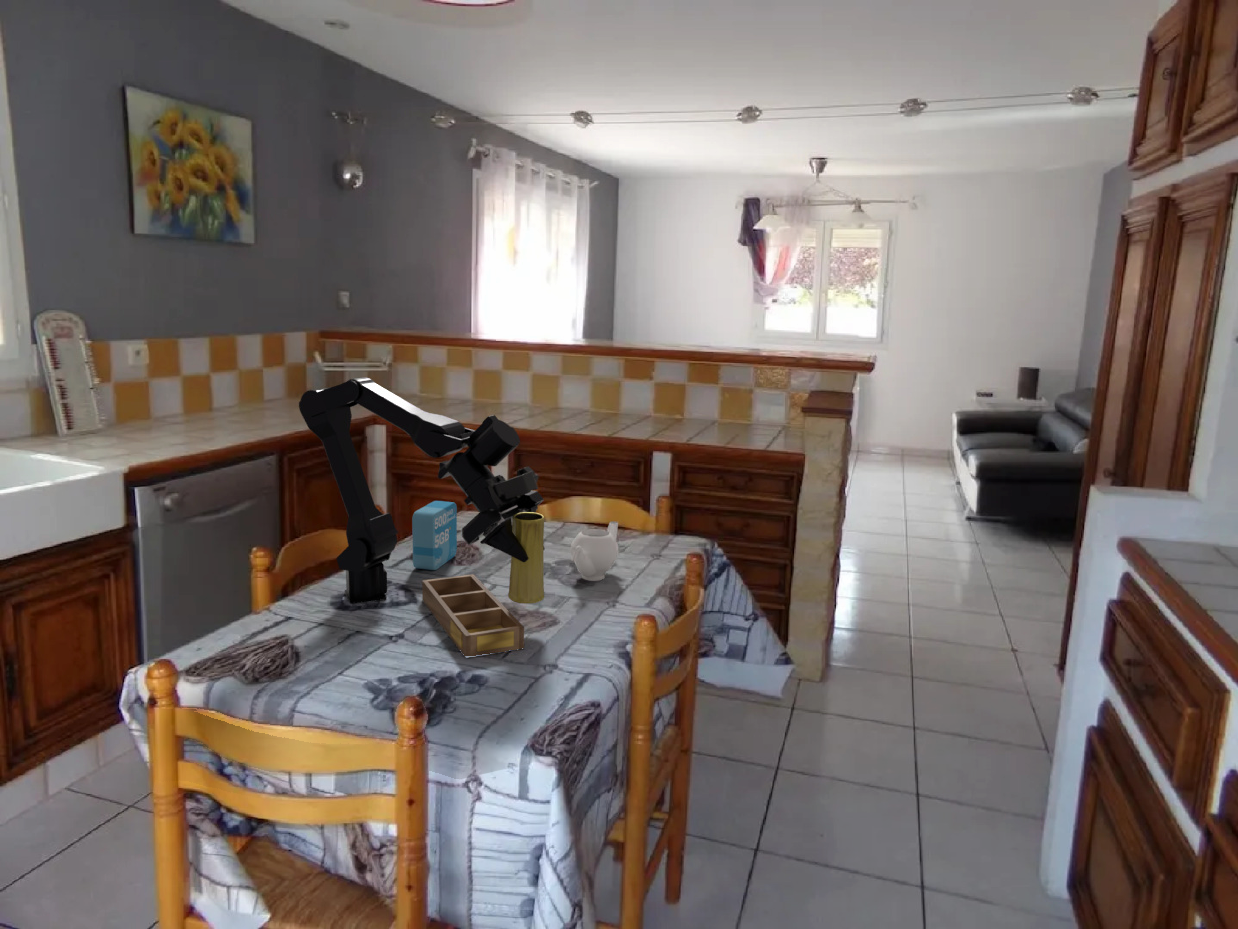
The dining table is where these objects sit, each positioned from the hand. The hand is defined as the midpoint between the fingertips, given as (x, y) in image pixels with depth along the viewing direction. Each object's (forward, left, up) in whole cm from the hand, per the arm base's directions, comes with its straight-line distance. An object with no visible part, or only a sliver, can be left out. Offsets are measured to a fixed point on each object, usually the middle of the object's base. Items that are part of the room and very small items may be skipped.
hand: (534, 556), depth 144 cm
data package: (-6, +41, -13) cm, 43 cm away
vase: (-1, +1, -8) cm, 8 cm away
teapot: (+21, +21, -13) cm, 32 cm away
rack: (-9, +7, -13) cm, 17 cm away
